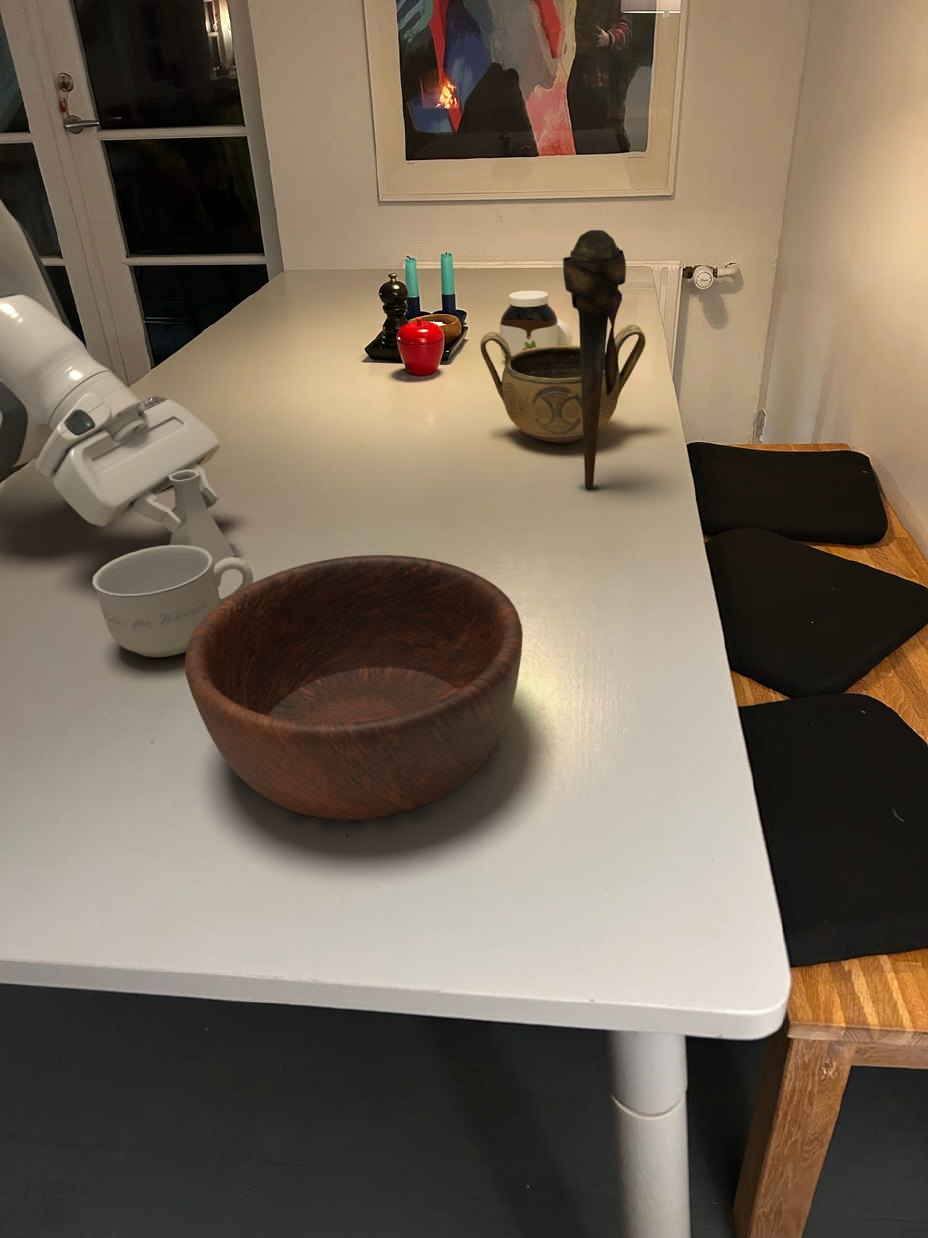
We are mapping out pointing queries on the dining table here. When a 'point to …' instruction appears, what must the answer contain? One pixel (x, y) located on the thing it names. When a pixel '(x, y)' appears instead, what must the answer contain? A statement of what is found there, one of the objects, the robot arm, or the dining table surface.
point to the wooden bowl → (357, 682)
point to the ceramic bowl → (554, 386)
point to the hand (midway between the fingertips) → (197, 515)
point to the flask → (196, 518)
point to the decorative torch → (595, 325)
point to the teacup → (162, 596)
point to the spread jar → (532, 323)
